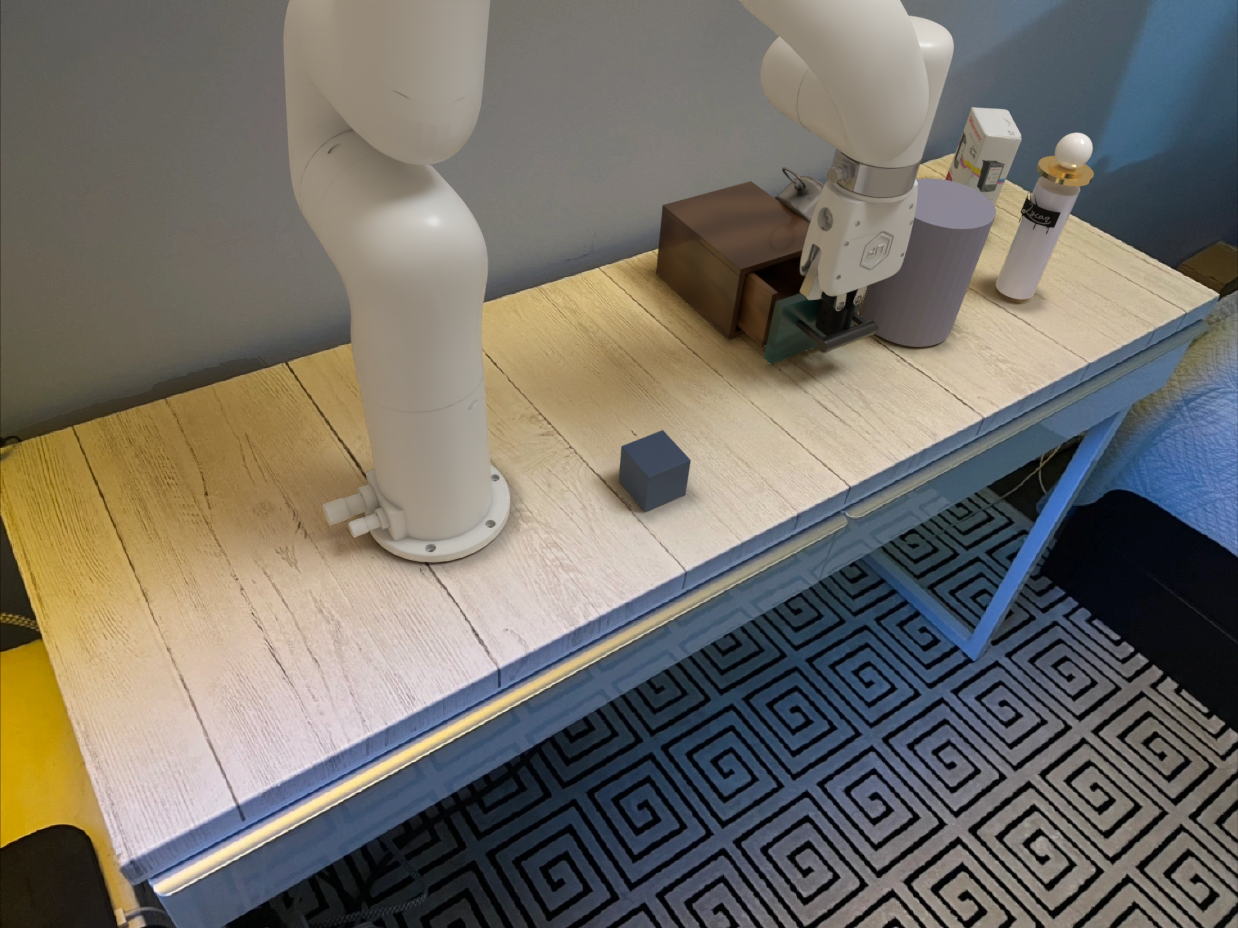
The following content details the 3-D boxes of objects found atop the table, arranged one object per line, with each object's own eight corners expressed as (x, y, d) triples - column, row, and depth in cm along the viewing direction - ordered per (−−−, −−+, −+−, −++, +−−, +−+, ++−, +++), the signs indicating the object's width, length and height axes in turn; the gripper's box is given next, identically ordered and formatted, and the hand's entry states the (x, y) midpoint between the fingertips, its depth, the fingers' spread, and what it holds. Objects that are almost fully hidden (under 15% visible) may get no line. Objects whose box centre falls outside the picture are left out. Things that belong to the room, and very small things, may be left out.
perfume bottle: (1004, 274, 113) (1069, 117, 99) (1046, 296, 110) (1119, 137, 96) (978, 290, 110) (1041, 130, 96) (1020, 313, 107) (1092, 152, 93)
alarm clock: (794, 244, 116) (742, 166, 103) (825, 212, 115) (777, 130, 102) (850, 287, 109) (802, 210, 97) (883, 255, 109) (839, 172, 96)
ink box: (941, 187, 128) (968, 104, 120) (977, 190, 128) (1006, 107, 120) (954, 219, 122) (983, 134, 114) (992, 222, 122) (1024, 137, 114)
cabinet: (815, 309, 106) (832, 239, 99) (728, 340, 101) (740, 269, 94) (739, 248, 114) (750, 180, 108) (655, 273, 109) (662, 204, 103)
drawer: (882, 359, 98) (900, 302, 93) (800, 391, 94) (815, 334, 88) (774, 273, 109) (786, 218, 104) (696, 298, 104) (704, 242, 99)
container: (841, 315, 105) (874, 196, 95) (896, 285, 110) (933, 169, 100) (914, 360, 100) (957, 239, 89) (968, 327, 105) (1015, 209, 94)
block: (644, 512, 82) (648, 477, 79) (618, 480, 85) (621, 445, 81) (685, 494, 84) (691, 460, 81) (658, 464, 86) (662, 429, 83)
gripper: (840, 206, 77) (798, 374, 90) (963, 168, 83) (907, 331, 96) (783, 167, 82) (751, 333, 95) (904, 134, 88) (858, 294, 101)
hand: (830, 332), depth 95 cm, fingers closed
